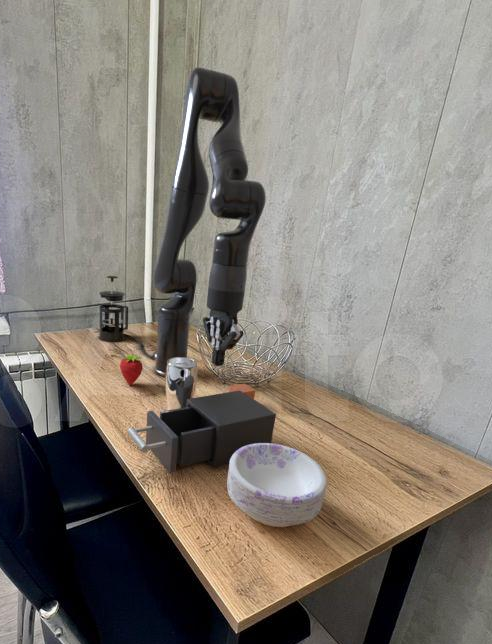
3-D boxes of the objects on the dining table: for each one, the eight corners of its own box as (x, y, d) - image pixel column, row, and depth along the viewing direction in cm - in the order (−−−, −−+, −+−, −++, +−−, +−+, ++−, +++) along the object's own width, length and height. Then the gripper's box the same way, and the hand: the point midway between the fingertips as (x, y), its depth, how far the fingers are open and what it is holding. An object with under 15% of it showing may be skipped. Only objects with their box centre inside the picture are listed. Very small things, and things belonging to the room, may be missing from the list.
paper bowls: (259, 553, 57) (267, 509, 54) (208, 489, 70) (212, 450, 67) (338, 527, 63) (350, 485, 60) (278, 472, 76) (285, 435, 73)
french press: (103, 343, 144) (103, 278, 135) (93, 336, 151) (92, 274, 143) (132, 339, 150) (134, 277, 142) (121, 333, 157) (122, 273, 149)
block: (227, 401, 104) (229, 385, 102) (242, 399, 106) (244, 383, 104) (238, 409, 100) (240, 392, 98) (253, 406, 102) (255, 390, 100)
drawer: (145, 479, 70) (146, 443, 67) (123, 448, 79) (123, 415, 76) (226, 458, 78) (231, 425, 75) (198, 432, 87) (201, 401, 84)
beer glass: (190, 432, 88) (196, 369, 83) (159, 427, 89) (163, 365, 84) (194, 418, 94) (200, 358, 89) (166, 414, 96) (169, 355, 90)
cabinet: (214, 468, 76) (219, 426, 73) (183, 437, 86) (186, 399, 83) (269, 453, 82) (276, 414, 79) (234, 426, 92) (239, 390, 89)
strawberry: (135, 378, 115) (136, 345, 111) (146, 388, 109) (147, 353, 105) (115, 380, 112) (116, 347, 109) (125, 391, 106) (126, 356, 103)
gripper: (261, 292, 78) (248, 373, 85) (224, 280, 89) (216, 353, 96) (229, 293, 75) (218, 377, 81) (195, 280, 86) (188, 356, 92)
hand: (217, 364), depth 89 cm, fingers closed
